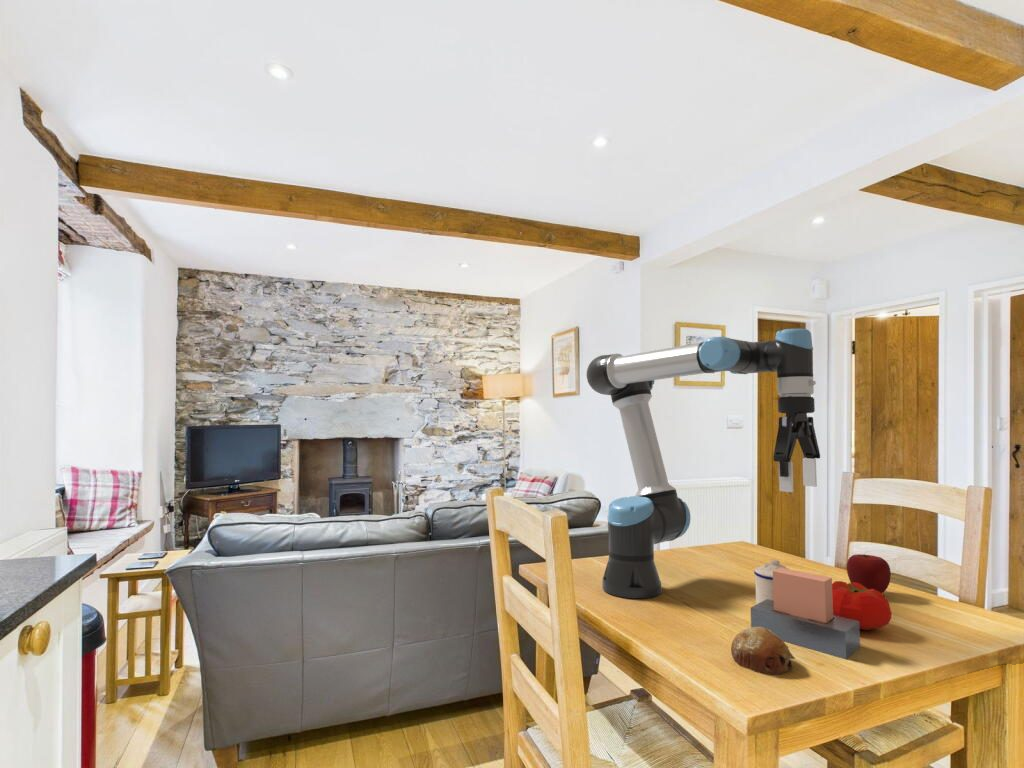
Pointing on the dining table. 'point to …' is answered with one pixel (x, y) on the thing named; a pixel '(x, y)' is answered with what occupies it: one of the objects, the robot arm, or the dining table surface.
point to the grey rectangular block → (809, 630)
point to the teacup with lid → (766, 580)
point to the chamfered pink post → (803, 595)
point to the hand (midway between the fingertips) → (798, 488)
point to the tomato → (860, 605)
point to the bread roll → (761, 651)
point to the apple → (869, 571)
